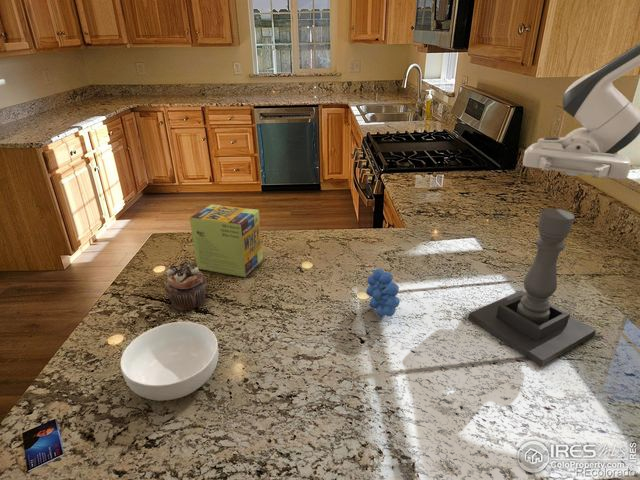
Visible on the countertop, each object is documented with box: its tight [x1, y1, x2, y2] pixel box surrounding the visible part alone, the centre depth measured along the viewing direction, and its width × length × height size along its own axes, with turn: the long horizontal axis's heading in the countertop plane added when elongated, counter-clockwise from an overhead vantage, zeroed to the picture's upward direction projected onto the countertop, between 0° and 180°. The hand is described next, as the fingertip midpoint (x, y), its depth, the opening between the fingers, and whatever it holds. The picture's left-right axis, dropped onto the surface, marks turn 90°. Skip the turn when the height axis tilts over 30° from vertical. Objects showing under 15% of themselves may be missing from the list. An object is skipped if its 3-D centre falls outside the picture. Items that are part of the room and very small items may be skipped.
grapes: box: [365, 268, 401, 318], centre depth 94 cm, size 12×7×12 cm, turn 24°
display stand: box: [468, 289, 597, 367], centre depth 91 cm, size 18×18×4 cm
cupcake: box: [163, 261, 207, 311], centre depth 101 cm, size 10×10×10 cm
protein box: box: [189, 204, 264, 278], centre depth 116 cm, size 10×15×16 cm
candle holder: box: [516, 208, 575, 325], centre depth 86 cm, size 6×6×25 cm
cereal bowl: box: [119, 321, 220, 402], centre depth 78 cm, size 17×17×7 cm
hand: (571, 170), depth 88 cm, fingers open, 8 cm apart
